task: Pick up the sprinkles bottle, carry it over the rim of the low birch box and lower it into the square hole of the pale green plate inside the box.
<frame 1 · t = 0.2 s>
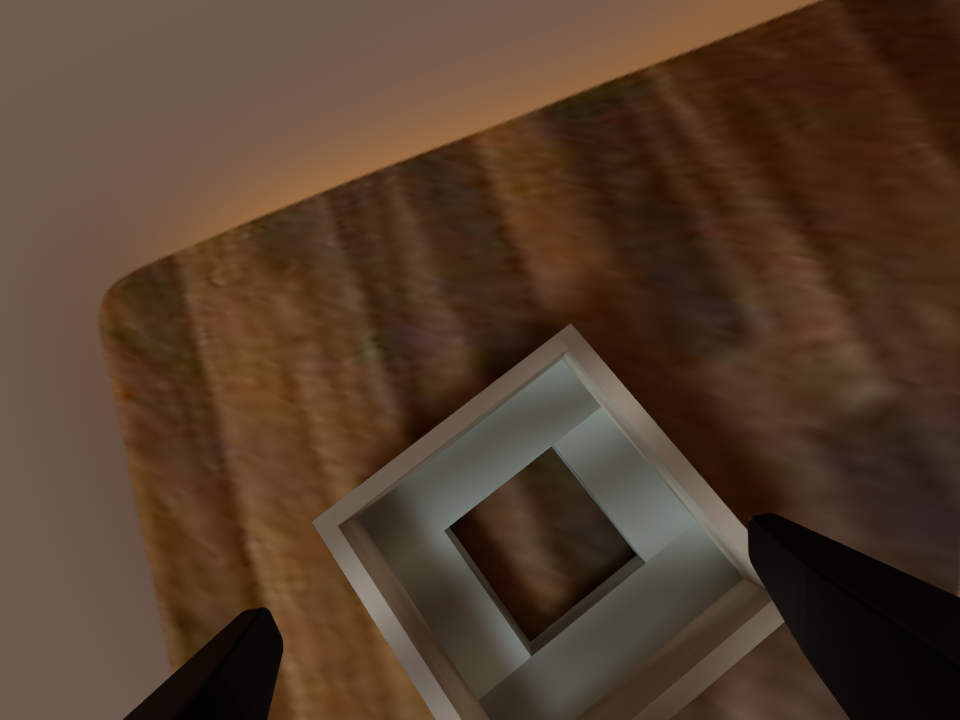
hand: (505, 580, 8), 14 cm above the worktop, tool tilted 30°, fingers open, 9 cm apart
peg box: (540, 539, 22), on the worktop
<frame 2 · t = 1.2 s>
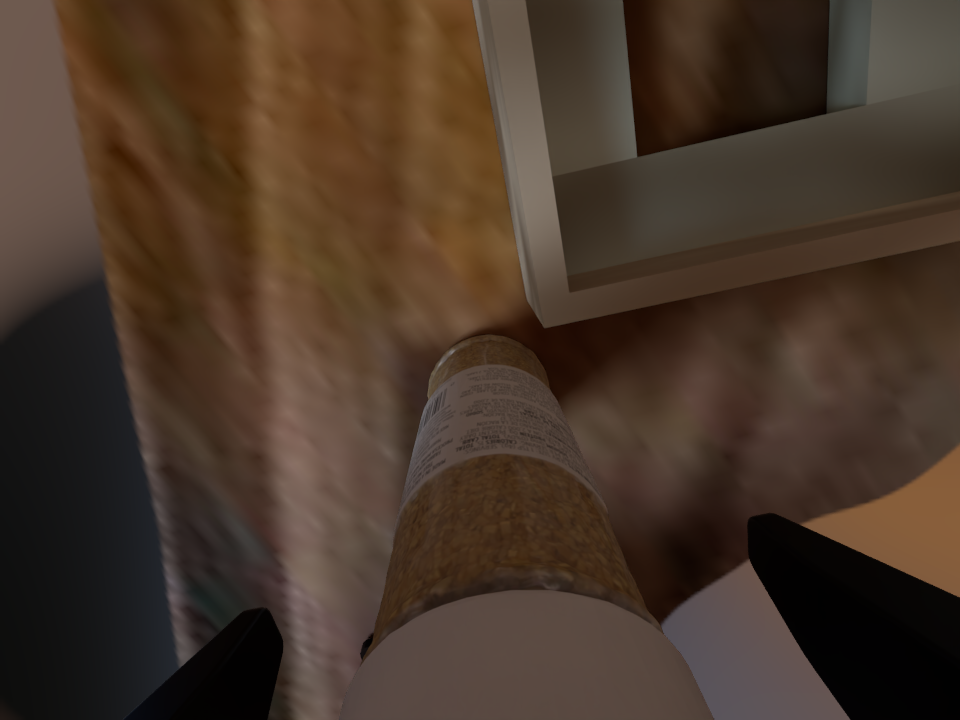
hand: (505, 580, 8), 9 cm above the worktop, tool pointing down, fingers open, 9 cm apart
peg box: (718, 20, 13), on the worktop
sprinkles bottle: (488, 386, 17), on the worktop
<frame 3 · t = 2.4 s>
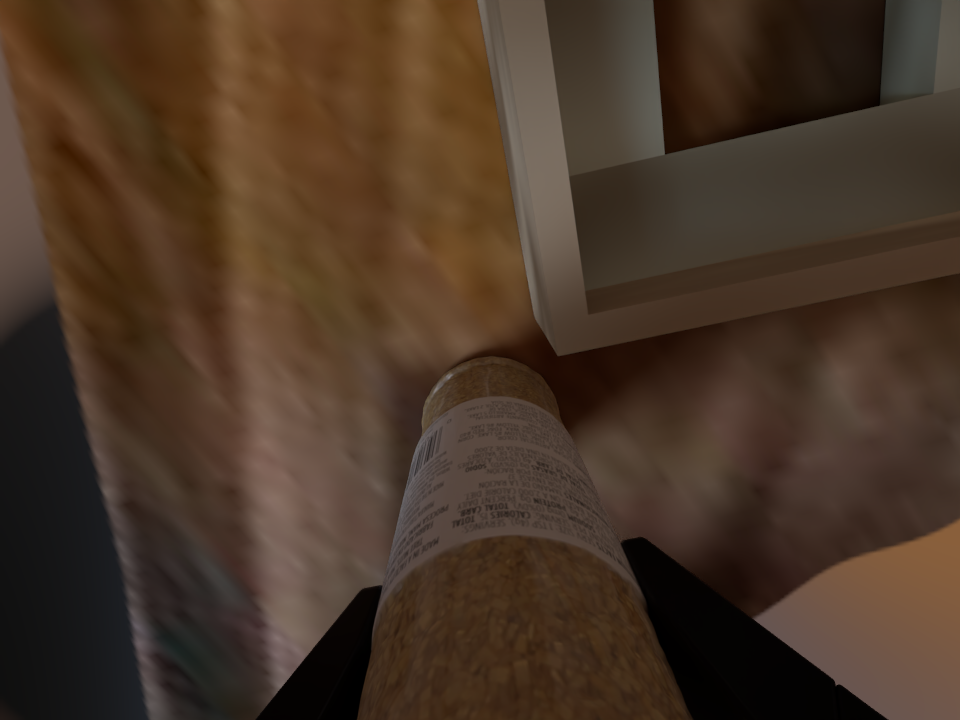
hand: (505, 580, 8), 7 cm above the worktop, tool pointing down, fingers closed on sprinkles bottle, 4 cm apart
sprinkles bottle: (490, 413, 15), on the worktop, touching gripper
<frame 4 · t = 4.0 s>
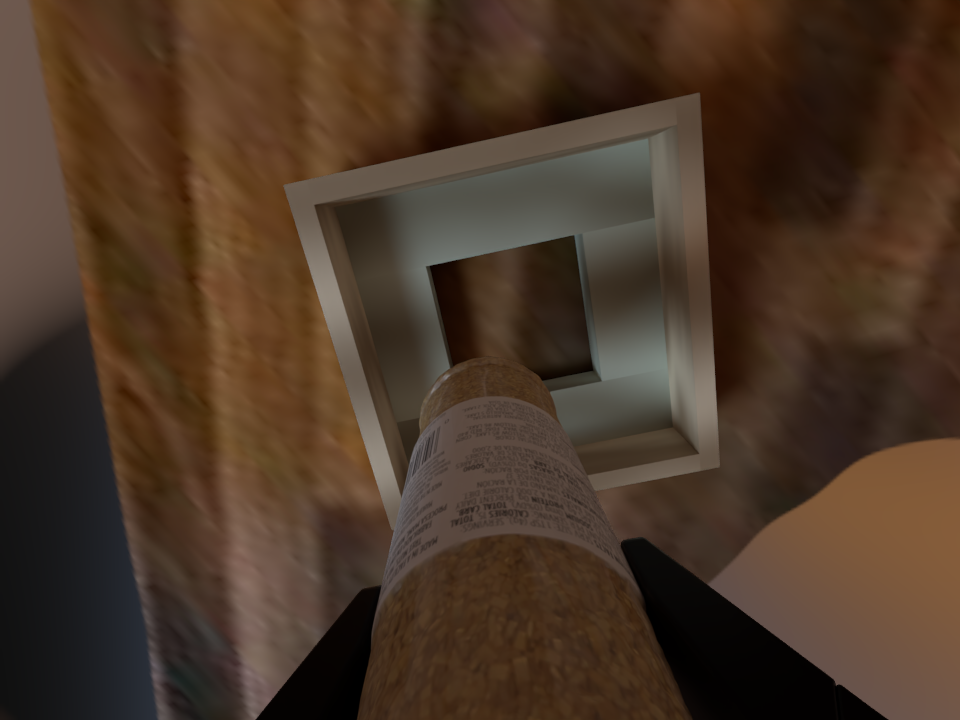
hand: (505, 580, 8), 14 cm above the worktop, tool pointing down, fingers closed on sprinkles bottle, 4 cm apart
peg box: (514, 319, 21), on the worktop
sprinkles bottle: (487, 413, 15), point 6 cm above the worktop, touching gripper
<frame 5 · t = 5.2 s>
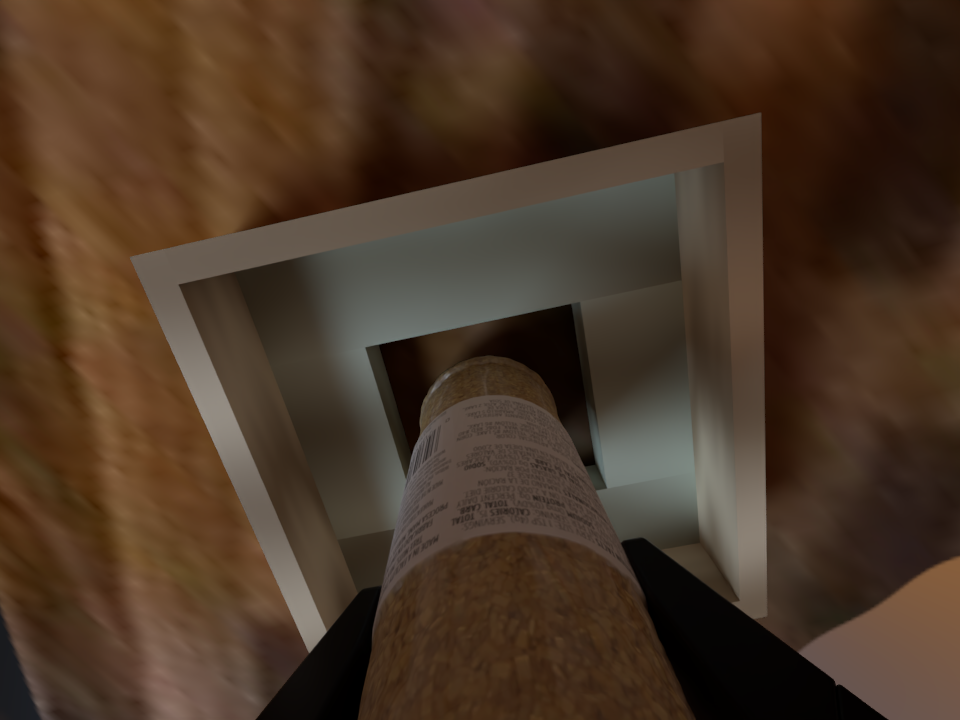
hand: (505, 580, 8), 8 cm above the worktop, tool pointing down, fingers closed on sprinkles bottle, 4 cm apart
peg box: (491, 402, 16), on the worktop
sprinkles bottle: (488, 412, 15), point 1 cm above the worktop, touching gripper
when the fingers open (8 cm above the worktop, at t = 5.9 s): sprinkles bottle stays where it is, resting in peg box.
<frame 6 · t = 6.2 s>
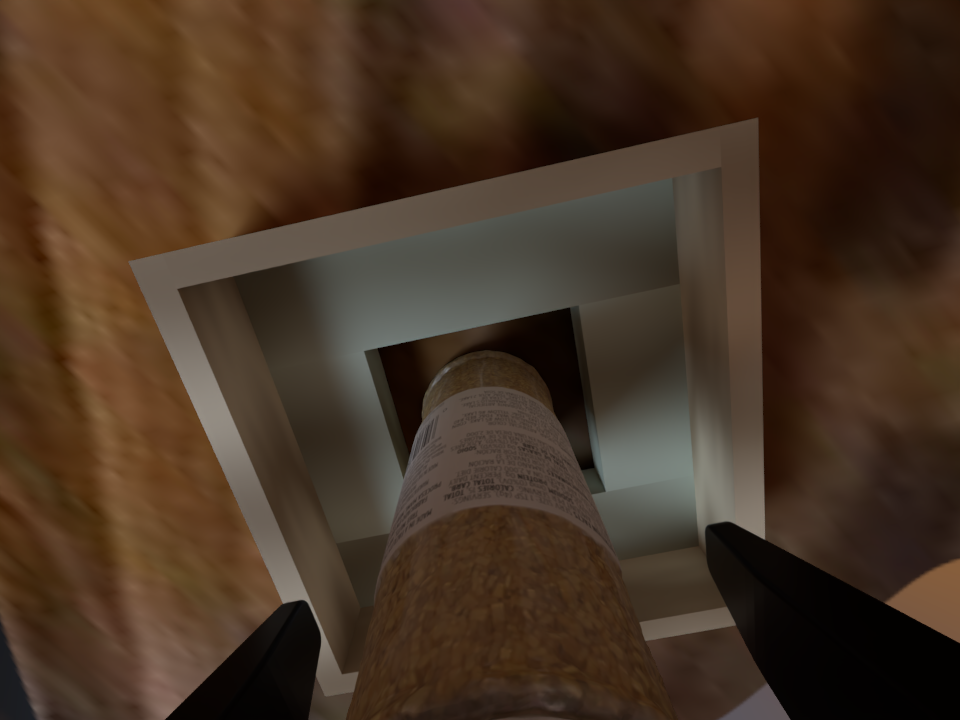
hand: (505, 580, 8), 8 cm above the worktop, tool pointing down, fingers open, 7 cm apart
peg box: (490, 406, 16), on the worktop
sprinkles bottle: (487, 404, 16), resting in peg box
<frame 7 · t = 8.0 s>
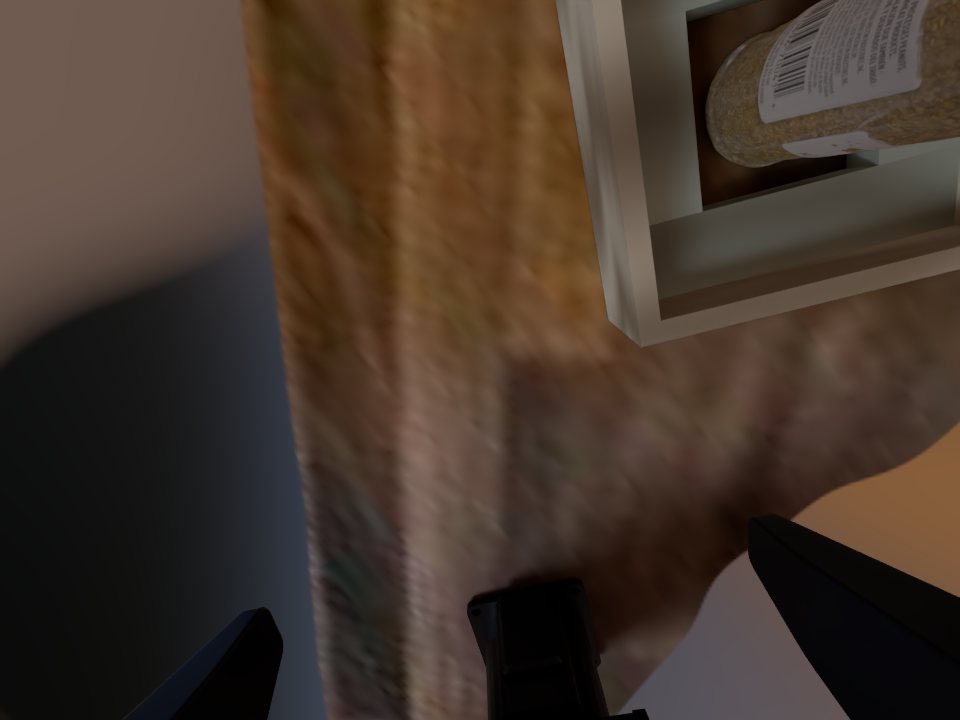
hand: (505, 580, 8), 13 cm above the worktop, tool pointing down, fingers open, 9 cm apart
peg box: (760, 101, 17), on the worktop
sprinkles bottle: (755, 103, 17), resting in peg box
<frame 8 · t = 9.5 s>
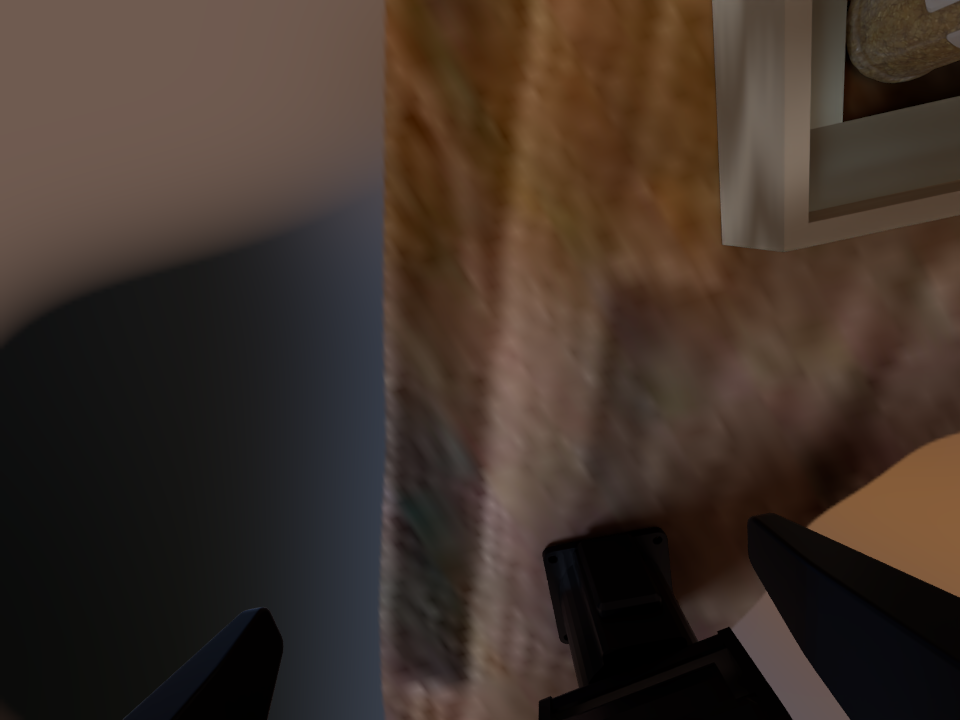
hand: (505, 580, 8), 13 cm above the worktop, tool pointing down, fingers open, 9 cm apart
peg box: (902, 15, 17), on the worktop
sprinkles bottle: (895, 18, 17), resting in peg box
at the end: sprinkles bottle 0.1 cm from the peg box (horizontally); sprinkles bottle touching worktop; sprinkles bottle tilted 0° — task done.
